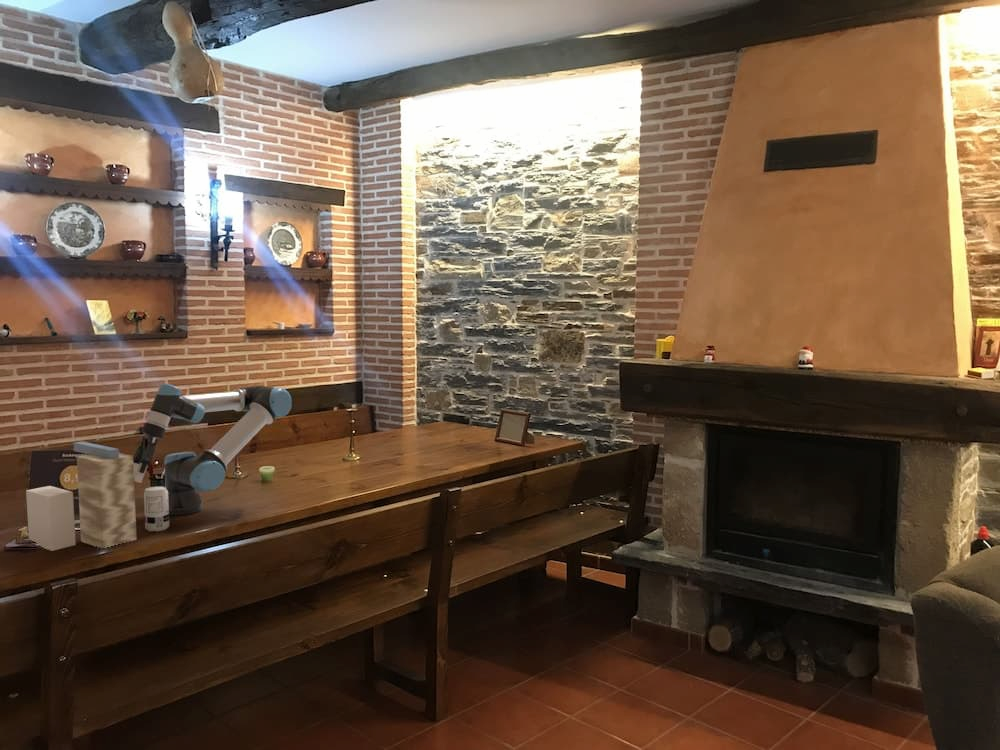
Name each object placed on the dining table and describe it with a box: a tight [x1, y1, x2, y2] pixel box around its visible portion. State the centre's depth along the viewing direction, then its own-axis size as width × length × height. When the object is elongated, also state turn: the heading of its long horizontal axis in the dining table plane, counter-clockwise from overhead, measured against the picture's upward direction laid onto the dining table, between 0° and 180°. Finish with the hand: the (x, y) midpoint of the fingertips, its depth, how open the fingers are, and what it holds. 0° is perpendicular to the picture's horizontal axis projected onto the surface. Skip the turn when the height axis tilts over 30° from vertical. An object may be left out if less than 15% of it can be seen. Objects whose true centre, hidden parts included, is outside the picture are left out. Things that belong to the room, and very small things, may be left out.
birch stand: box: [76, 452, 138, 549], centre depth 280 cm, size 12×14×30 cm
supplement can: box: [143, 485, 170, 532], centre depth 296 cm, size 8×8×15 cm
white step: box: [25, 485, 76, 552], centre depth 277 cm, size 8×15×18 cm, turn 56°
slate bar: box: [73, 441, 120, 459], centre depth 282 cm, size 3×23×3 cm, turn 56°
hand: (132, 481), depth 289 cm, fingers open, 13 cm apart
